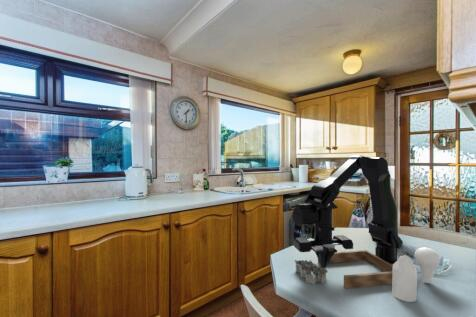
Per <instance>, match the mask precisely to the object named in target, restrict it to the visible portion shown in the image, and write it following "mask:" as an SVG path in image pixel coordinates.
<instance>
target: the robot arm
mask: <svg viewBox="0 0 476 317" xmlns="http://www.w3.org/2000/svg"><path fill="white" fill-rule="evenodd" d="M360 169H361V172H362V175H363V176H364V178H365V179H366V180H367V182H368V189H369V196H370V202H371V210H372V212H373V219H371V221H370V222H368V223H367V227H368V233H369V234H370V237H371V240H372V242H374V243H375V242H376V243H375V244H376V246H375V254H374V255H376V256H378V257H379V258H381V259H383V260H384V261H386V262H388V263H390V264H391V265H393V264H394V263H395V262H396V261H397V260H398V249H399V250H400V249H401V248H402V247H403V239H402V238H401V237H400V236H399V234H398V235H397V233H396V229H395V226H394V224H393V223H392V222H391V220H390V219H389V217H388V209H387V201H386V194H385V186H384V179H385V177H386V176H387V174H388V171H389V170H388V169H389V163H388V161H387V159H385V157H377V156H376V157H368V156H364V155H351V156H349V157H348V159H347V160H346V161H345V162H344V163H343V164H342V165H341V166H340V167H339V168H338V169H336V171H334V172H333V173H332V174H331V175H330V176H329V177H327V178H325V179H322V180H320V181H317V183H315V184H314V185H313V186H312V187H311V188H310V192H309V193H308V195H307V197H306V198H305V199H304V203H296V204H295V205H296V206H295V208H293V211H292V212H291V215H292V216H291V217H292V220H293V223H294V224H295V226H297V227H298V226H299V227H300V226H301V234H302V235H306V236H307V238H306V237H295V238H294V240H293V244H292V245H293V247H294V248H295V249H296V250H297V251H298V252H300V253H310V252H311V251H313V252H314V253H315V255H316V257H317V262H318V261H319V263H320V264H319V263H318V264H319V267H321V268H325V269H326V268H327V266H328V264H329V263H328V262H329V261H330V259H331V258H332V256H333V255H334V253H336V252H338V250H337V249H336V246H342V248H343V249H345V250H353V249H354V243H353V240H352V239H351V238H349V237H348V236H346V235H344V234H340V235H338V234H337V235H333V231H335V227H334V226H333V210H336V209H338V205H336V204H335V203H334V202H335V200H336V199H337V197H338V196H339V194H340V192H341V191H340V190H341V188H342V186H344V184H346V182H348V181H349V180H350V179H351V178H352V177H353V176H354V175H355V174H356V173H357V172H358V171H359V170H360ZM372 212H371V213H372ZM309 225H311V227H310V226H309ZM308 237H310V239H313V240H309V239H308Z"/></svg>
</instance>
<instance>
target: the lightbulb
mask: <svg viewBox="0 0 476 317" xmlns="http://www.w3.org/2000/svg"><path fill="white" fill-rule="evenodd" d="M414 259H415V261H416V263H417V264H418V266H419V269H420V271H419V272H420V274H421V281H422V282H424V283H426V284H431V283H433V277H434V272H435V270H436V268H438V266H440V265H439V264H440V262H441V259H440V256H439V254H438V253H437V251H435V250H434V249H432V248H429V247H425V246H423V247H419V248H418V249H416V250H415V252H414Z"/></svg>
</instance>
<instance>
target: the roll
mask: <svg viewBox="0 0 476 317" xmlns="http://www.w3.org/2000/svg"><path fill="white" fill-rule="evenodd" d="M392 265H393V269H392V284H391V285H392V286H391V288H392V289H391V292H392V296H393V297H394V298H396V299H397V300H400V301H404V302H407V303H413V302H416V301H417V299H418V298H417V297H418V296H417V294H418V293H417V292H418V271H417V269H416V266H415V264H414V262H413V261H412V259H411V258H410V256H408V255H406V254H405V255H399V257H398V258H397V261H396V262H395V263H394V264H392Z"/></svg>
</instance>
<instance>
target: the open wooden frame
mask: <svg viewBox="0 0 476 317" xmlns="http://www.w3.org/2000/svg"><path fill="white" fill-rule="evenodd" d="M361 261H366V262H367V263H369V264H370V265H372V266H374V267H375V268H377V269H378V270H380V271H381V272H377V271H376V272H370V273H369V272H367V273H355V274H345V275H343V288H344V289H345V290H346V289H347V290H348V289H357V288H367V287H377V286H388V285H392V269H393V264H390V263H388V262H386V261H384V260H383V259H381V258H379V257H378V256H376V255H375V254H374V253H373V252H370V251H369V250H367V249H363V250H360V249H359V250H350V251H347V250H346V251H337V252H336V253H334V255H333V256H332V258H331V259H330V261H329V262H328V264H334V263H335V264H338V263H348V262H349V263H350V262H361ZM317 263H318V264H319V265H320V263H319V261H318V260H317Z"/></svg>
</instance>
